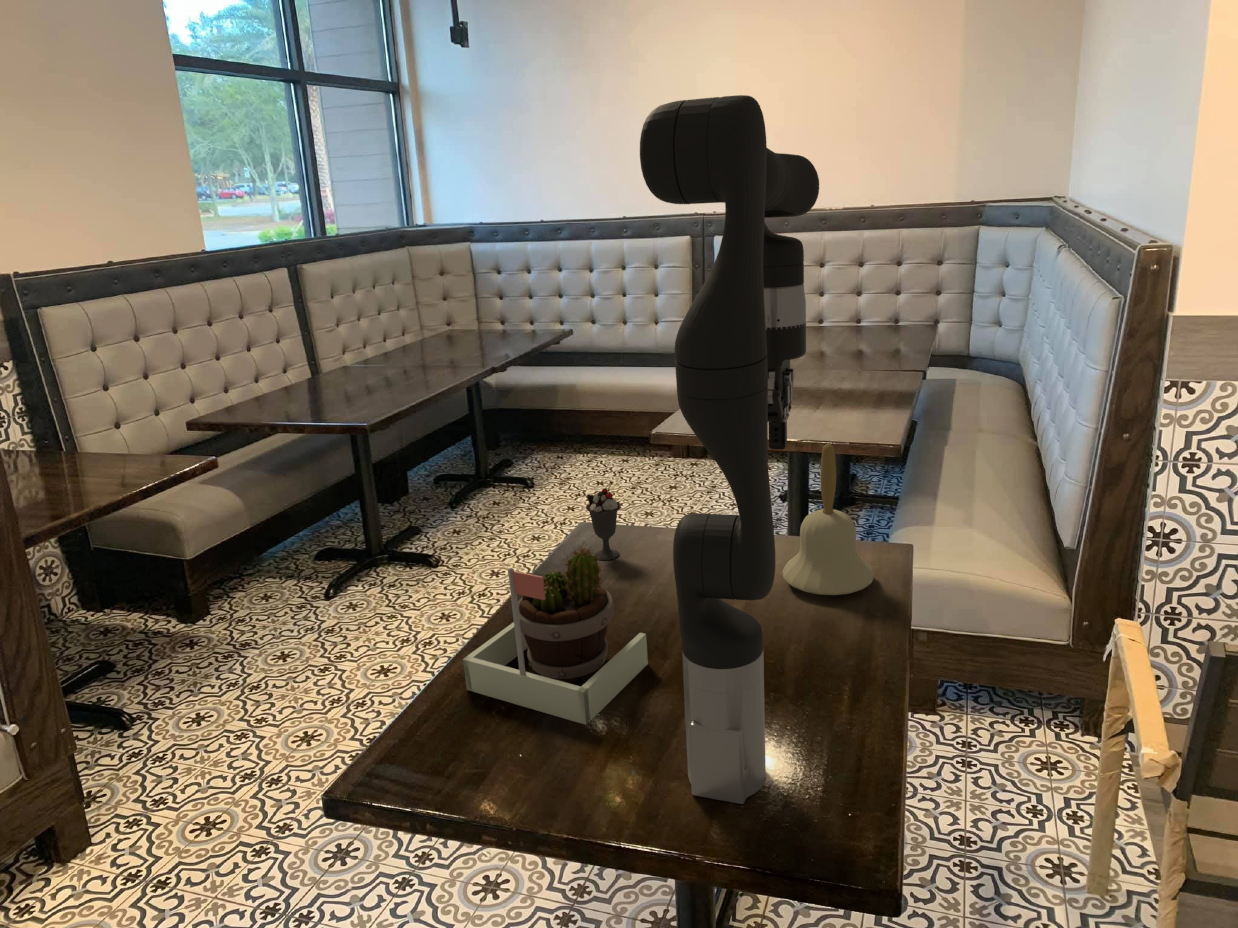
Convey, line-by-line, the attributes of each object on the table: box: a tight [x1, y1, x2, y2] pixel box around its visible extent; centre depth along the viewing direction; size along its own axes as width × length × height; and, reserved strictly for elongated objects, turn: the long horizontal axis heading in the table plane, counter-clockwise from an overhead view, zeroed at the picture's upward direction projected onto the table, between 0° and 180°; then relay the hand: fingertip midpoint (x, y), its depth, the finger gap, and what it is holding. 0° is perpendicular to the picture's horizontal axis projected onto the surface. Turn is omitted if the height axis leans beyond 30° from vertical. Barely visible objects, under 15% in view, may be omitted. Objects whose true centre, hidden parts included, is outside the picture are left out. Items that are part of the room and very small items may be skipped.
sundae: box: [585, 481, 622, 561], centre depth 170 cm, size 7×7×15 cm
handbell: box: [781, 443, 875, 596], centre depth 151 cm, size 15×15×25 cm
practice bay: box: [462, 567, 649, 726], centre depth 128 cm, size 17×20×21 cm
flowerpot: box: [517, 542, 615, 684], centre depth 131 cm, size 14×15×20 cm
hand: (778, 447), depth 122 cm, fingers closed
